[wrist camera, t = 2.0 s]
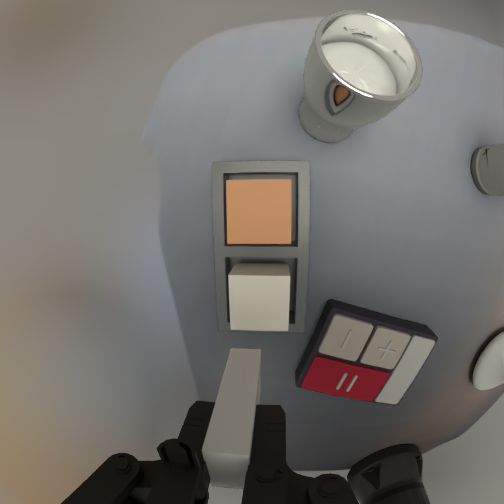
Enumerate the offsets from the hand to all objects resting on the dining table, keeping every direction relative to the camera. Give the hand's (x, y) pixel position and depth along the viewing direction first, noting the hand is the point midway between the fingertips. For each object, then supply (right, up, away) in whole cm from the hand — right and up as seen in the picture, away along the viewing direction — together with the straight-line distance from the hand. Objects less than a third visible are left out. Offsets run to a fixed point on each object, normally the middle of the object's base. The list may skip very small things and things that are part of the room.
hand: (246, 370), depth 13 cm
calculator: (+14, -6, +18) cm, 24 cm away
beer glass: (+8, +20, +12) cm, 25 cm away
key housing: (+1, +7, +16) cm, 17 cm away
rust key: (+1, +10, +12) cm, 16 cm away
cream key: (+1, +3, +13) cm, 14 cm away
